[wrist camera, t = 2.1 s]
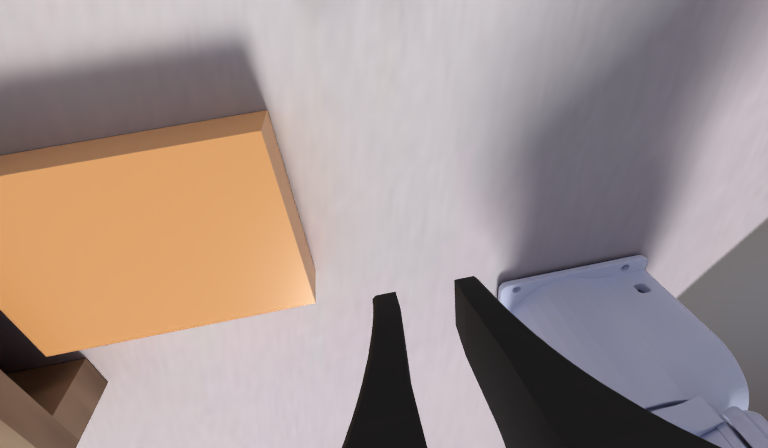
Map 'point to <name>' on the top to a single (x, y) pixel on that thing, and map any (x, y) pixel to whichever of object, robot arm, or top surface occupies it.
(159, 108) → the top surface
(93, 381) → the shelf
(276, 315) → the top surface
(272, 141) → the thin wooden plank
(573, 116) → the top surface
